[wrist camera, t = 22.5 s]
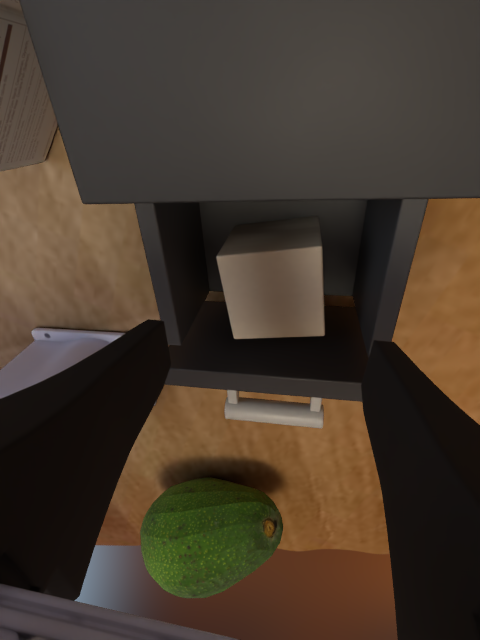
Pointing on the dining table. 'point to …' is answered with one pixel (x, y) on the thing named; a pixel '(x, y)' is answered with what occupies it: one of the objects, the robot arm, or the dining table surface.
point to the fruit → (208, 536)
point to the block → (274, 279)
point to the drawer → (286, 352)
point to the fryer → (263, 98)
